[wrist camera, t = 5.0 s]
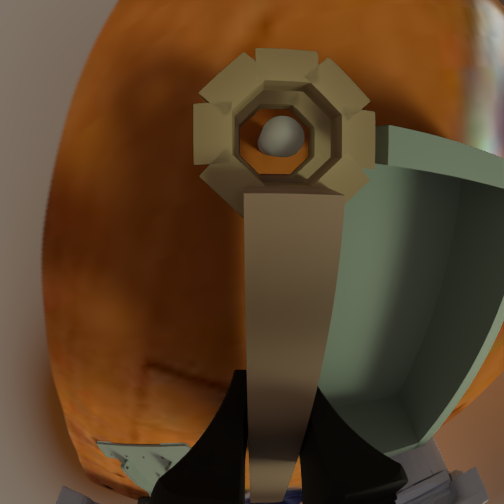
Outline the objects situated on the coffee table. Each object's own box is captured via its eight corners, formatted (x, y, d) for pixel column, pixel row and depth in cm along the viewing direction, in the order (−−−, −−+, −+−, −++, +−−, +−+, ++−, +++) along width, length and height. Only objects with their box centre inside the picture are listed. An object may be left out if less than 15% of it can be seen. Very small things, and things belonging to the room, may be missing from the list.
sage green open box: (399, 392, 19) (424, 445, 13) (256, 409, 19) (256, 476, 13) (462, 158, 12) (538, 174, 6) (257, 131, 12) (262, 112, 6)
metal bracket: (234, 512, 21) (143, 505, 23) (240, 482, 27) (156, 482, 29) (175, 447, 20) (84, 443, 22) (191, 414, 26) (105, 420, 28)
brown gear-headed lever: (293, 433, 17) (300, 500, 11) (234, 435, 17) (231, 502, 11) (325, 95, 10) (392, 47, 4) (218, 92, 10) (183, 32, 4)
